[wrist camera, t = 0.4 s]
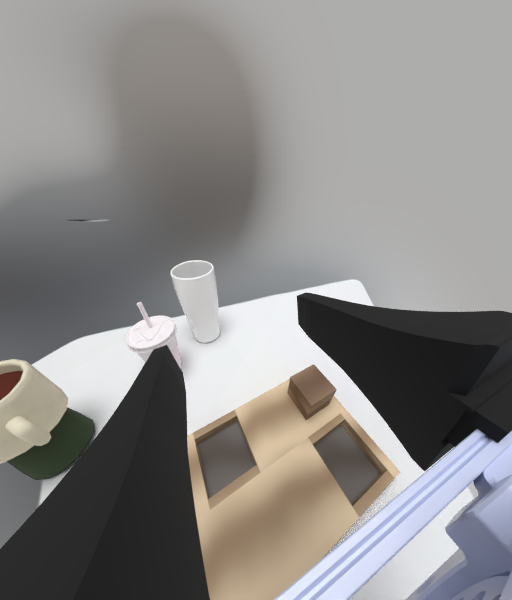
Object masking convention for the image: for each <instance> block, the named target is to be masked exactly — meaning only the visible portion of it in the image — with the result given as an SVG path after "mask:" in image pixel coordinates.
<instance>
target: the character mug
mask: <svg viewBox="0 0 512 600" xmlns="http://www.w3.org/2000/svg"><path fill="white" fill-rule="evenodd" d="M67 404H68V398H67V396H66V395H65V393H64V392H63V391H62V390H61V389H60V388H59V387H58V386H56V385H55V384H54V383H53V382H51V381H50V380H49V379H48V378H46V377H45V376H44V375H43V374H42V373H40V372H39V371H38V370H37V369H35V368H34V367H33V366H32V365H30V364H29V363H28V362H26V361H22V360H16V359H11V360H5V361H0V464H1V463H4V462H6V461H7V462H8V463H10V464H11V465H13V466H14V467H15V468H17V469H18V470H20V471H21V472H23V473H24V474H26V475H28V476H29V477H31V478H33V479H35V480H40V479H47V478H50V477H52V476H54V475H56V474H58V473H60V472H61V471H63V470H65V469H66V468H67V467H68V466H69V465H70V464H71V463H72V462H73V461H74V460H75V459H76V458H77V457H78V456H79V455H80V453H81V452H82V451H83V449H84V448H85V446H86V445H87V444H88V442H89V441H90V438H91V436H92V433H93V431H94V425H93V420H91V419H90V418H88V417H86V416H84V415H82V414H80V413H79V412H77V411H74V410H72V409H69V408H67Z"/></svg>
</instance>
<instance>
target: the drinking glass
mask: <svg viewBox="0 0 512 600" xmlns="http://www.w3.org/2000/svg"><path fill="white" fill-rule="evenodd" d="M171 277H172V281H173V285H174V288H175V291H176V294H177V297H178V299H179V302H180V304H181V306H182V308H183V311H184V313H185V315H186V317H187V320H188V322H189V324H190V327H191V329H192V331H193V335H194V337H195V339H196V340H197V341H199V342H202V343H208V342H211V341H213V340H215V339H216V338H217V337H218V336H219V334H220V325H219V311H218V292H217V283H216V277H215V273H214V268H213V265H212V264H211V263H209V262H207V261H200V260H195V261H188V262H184V263H181V264H179V265H177V266H175V267H174V268H173V269H172V270H171Z"/></svg>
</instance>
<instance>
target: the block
mask: <svg viewBox="0 0 512 600" xmlns="http://www.w3.org/2000/svg"><path fill="white" fill-rule="evenodd" d="M335 392H336V388H335V387H334V386H333V385H332V384H331V383H330V382H329V381H328V380H327V378H326V377H325V376H324V375H323V374H322V373H321V372H320V371H319V370H318V369H317V367H316V366H315V365H312V366H310V367H308V368H306V369H304V370H303V371H301V372H299V373H297V374H295V375H294V376H292V377H290V381H289V387H288V392H287V393H288V395H289V396H290V397H291V399H292V400H293V402H294V403H295V405H296V406H297V408H298V409H299V411H300V412H301V414H302V415H303V417H304V418H305V420H307V419H309V418H310V417H312V416H313V415H315V414H316V413H318V412H319V411H321V410H322V409H323V408H325V407H326V406H328V405H329V404H330V402H331V400H332V398H333V396H334V394H335Z"/></svg>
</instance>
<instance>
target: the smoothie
mask: <svg viewBox="0 0 512 600" xmlns="http://www.w3.org/2000/svg"><path fill="white" fill-rule="evenodd" d="M137 305H138V307H139V309H140V311H141V313H142V315H143V317H144V320H142V321H140V322H138V323H137V324H135V325H134V326H133V327H132V328H131V329H130V330H129V331H128V333H127V335H126V338H125V340H126V343H127V345H128V347H129V349H130V350H132V351H133V352H137V353H138V354H139V356H141V358H142V359H143V360H144V361H145V362H146V361H147V359H148V358H149V356H150V354H151V353H152V351H153V350H154V349H156V348H159V347H162V346H164V345H167V346H168V347H169V349H170V351H171V353H172V355H173V356H174V358H175V360H176V362H177V364H178V365H179V367H180V369H182V365H181V360H180V355H179V349H178V344H177V339H176V330H177V328H176V325H175V323H174V321H173V320H172V319H171V318H170V317H167V316H153V317H148V315H147V313H146V311H145V308H144V306H143V304H142V302H138V303H137Z"/></svg>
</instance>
